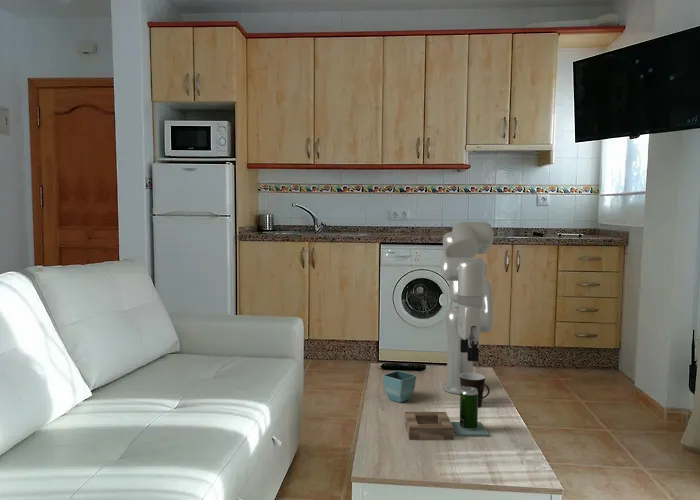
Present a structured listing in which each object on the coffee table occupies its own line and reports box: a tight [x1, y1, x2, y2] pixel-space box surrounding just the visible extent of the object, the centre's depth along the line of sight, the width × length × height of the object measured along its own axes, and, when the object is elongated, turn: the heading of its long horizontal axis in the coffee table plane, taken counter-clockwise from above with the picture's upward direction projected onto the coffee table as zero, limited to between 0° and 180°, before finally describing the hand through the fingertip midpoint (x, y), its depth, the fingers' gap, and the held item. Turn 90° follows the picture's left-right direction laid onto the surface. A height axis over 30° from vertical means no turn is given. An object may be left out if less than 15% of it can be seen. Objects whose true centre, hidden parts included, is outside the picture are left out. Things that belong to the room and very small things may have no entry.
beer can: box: [459, 387, 479, 431], centre depth 162 cm, size 5×5×12 cm
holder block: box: [403, 411, 455, 441], centre depth 161 cm, size 13×13×4 cm
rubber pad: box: [451, 421, 490, 437], centre depth 162 cm, size 10×10×1 cm
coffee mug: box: [460, 372, 490, 408], centre depth 183 cm, size 12×9×10 cm
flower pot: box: [382, 370, 417, 403], centre depth 189 cm, size 9×9×9 cm
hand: (469, 356), depth 162 cm, fingers open, 9 cm apart
